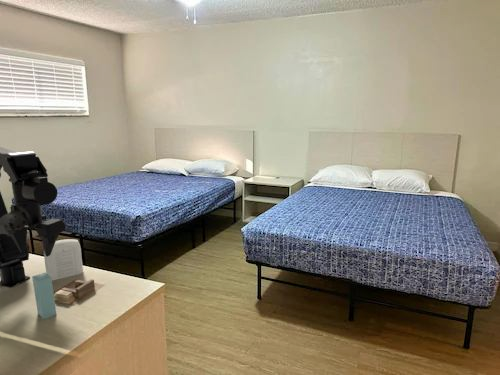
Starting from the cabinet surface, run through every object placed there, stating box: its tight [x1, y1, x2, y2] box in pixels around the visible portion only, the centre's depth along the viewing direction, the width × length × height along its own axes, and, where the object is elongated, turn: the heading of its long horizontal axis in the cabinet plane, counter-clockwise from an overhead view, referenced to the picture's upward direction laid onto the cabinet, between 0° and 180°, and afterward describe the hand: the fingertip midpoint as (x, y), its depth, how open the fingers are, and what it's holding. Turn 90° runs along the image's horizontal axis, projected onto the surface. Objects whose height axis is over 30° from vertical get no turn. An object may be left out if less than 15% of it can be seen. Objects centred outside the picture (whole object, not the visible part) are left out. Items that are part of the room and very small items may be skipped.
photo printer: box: [43, 238, 84, 281], centre depth 109 cm, size 10×4×12 cm, turn 123°
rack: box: [53, 278, 105, 307], centre depth 100 cm, size 11×12×4 cm
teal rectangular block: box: [31, 272, 57, 320], centre depth 88 cm, size 4×3×10 cm
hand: (35, 253), depth 96 cm, fingers open, 9 cm apart
